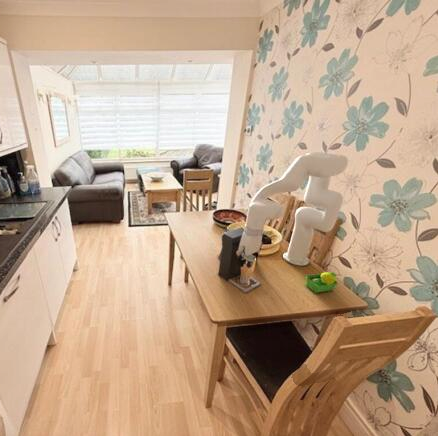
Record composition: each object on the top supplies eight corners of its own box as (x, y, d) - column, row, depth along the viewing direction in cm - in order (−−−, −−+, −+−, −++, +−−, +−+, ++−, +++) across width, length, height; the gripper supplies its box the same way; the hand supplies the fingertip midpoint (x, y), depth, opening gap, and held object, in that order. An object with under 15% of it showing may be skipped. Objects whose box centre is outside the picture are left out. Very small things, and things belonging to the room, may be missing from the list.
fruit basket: (321, 281, 118) (328, 262, 113) (338, 293, 110) (346, 273, 105) (302, 284, 116) (308, 265, 111) (317, 297, 108) (325, 277, 103)
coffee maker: (233, 267, 129) (240, 227, 120) (261, 284, 116) (271, 241, 107) (217, 274, 123) (223, 233, 114) (244, 293, 110) (253, 248, 101)
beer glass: (252, 288, 114) (258, 261, 108) (237, 286, 115) (241, 260, 109) (249, 278, 120) (254, 253, 114) (235, 277, 121) (239, 252, 115)
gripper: (258, 223, 113) (251, 254, 120) (233, 231, 105) (228, 264, 111) (273, 229, 107) (265, 261, 114) (248, 238, 99) (241, 272, 106)
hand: (247, 262), depth 113 cm, fingers open, 9 cm apart
